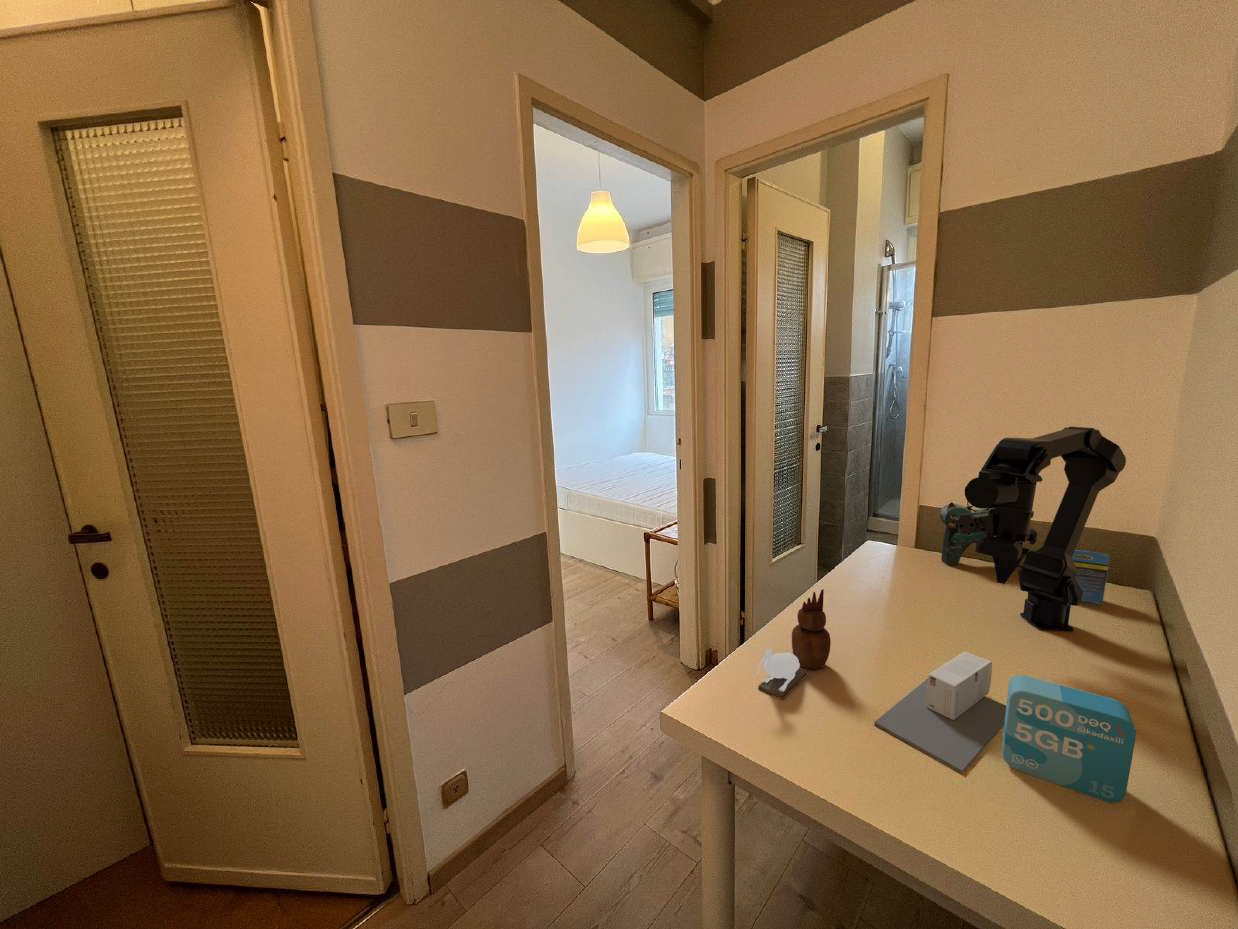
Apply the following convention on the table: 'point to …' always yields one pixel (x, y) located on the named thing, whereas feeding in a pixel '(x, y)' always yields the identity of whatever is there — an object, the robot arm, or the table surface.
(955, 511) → the ceramic cat
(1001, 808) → the table surface
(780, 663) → the figurine
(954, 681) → the skincare box
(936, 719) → the mat
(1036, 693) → the data package
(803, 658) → the wooden figurine
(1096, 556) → the label tape box
